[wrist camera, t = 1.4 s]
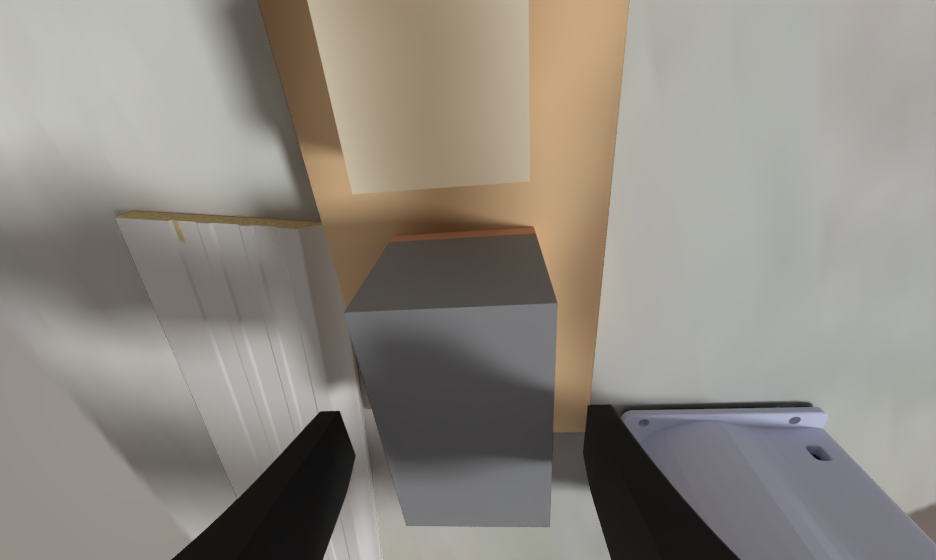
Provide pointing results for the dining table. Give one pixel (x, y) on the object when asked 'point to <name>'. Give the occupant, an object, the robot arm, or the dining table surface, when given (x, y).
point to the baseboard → (259, 343)
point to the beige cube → (427, 90)
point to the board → (493, 205)
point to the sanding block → (462, 374)
